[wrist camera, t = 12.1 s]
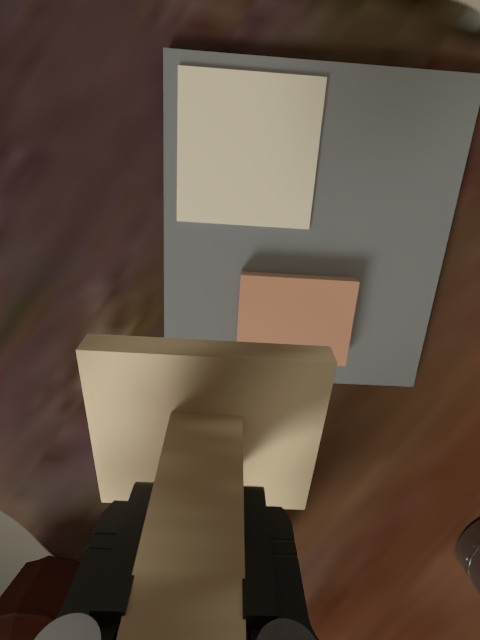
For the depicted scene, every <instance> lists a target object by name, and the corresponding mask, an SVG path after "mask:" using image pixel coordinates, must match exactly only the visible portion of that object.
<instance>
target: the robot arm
mask: <svg viewBox="0 0 480 640" xmlns="http://www.w3.org/2000/svg"><path fill="white" fill-rule="evenodd" d="M153 484H154V482H135V484H134V486H133V488H132V491H131V494H130V497H129V500H128V501H117V500H114V501H113V502H112V503H111V504H110V506H109V507H108V508H107V509H106V510H105V511H104V512H103V513H102V514H101V515H100V518H99V520H98V522H97V525H96V527H95V529H94V532H93V536H92V537H91V539H90V541H89V544H88V546H87V550H86V551H85V553H84V555H83V558H82V560H81V562H80V565H79V567H78V569H77V572H76V574H75V576H74V579H73V581H72V583H71V586H70V588H69V591H68V593H67V595H66V598H65V600H64V602H63V605H62V607H61V609H60V611H59V613H58V615H57V617H56V618H55V620H54V621H52V622H51V623H49V624H48V625H47V626H46V627H45V628H44V629H43V630H42V631H41V632H40V633H39V634H38V635H37V636H36V638H35V639H34V640H116V639H117V634H118V630H119V626H120V622H121V618H122V616H125V615H126V610H127V606H128V602H129V597H130V593H131V589H132V584H133V580H134V576H135V575H132V572H133V568H134V563H135V559H136V555H137V551H138V547H139V543H140V538H141V534H142V530H143V526H144V522H145V518H146V513H147V509H148V505H149V501H150V497H151V493H152V488H153ZM244 545H245V578H242V608H243V619H244V620H246V640H319V639H318V638H317V636H316V635H315V633H314V631H313V629H312V627H311V624H310V621H309V617H308V612H307V607H306V601H305V596H304V590H303V584H302V579H301V573H300V568H299V562H298V558H297V551H296V545H295V542H294V534H293V529H292V523H291V521H290V519H289V518H288V516H287V514H286V513H285V511H284V510H283V508H282V507H276V506H266V500H265V491H264V487H259V486H244ZM456 551H457V558H458V560H459V562H460V564H461V565H462V567H463V569H464V570H465V572H466V573H467V575H468V577H469V578H470V580H471V581H472V583H473V584H474V586H475V588H476V589H477V591H478V592H479V594H480V519H479V520H478V521H476V522H475V523H473V524H472V525H471V526H470V527H469V528H468V529H466V530H465V532H464V533H463V534H462V536H461V537H460V540H459V542H458V544H457V550H456Z"/></svg>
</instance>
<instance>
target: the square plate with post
mask: <svg viewBox="0 0 480 640" xmlns="http://www.w3.org/2000/svg"><path fill="white" fill-rule="evenodd" d="M76 355H77V361H78V367H79V373H80V379H81V385H82V391H83V397H84V402H85V408H86V414H87V420H88V426H89V432H90V438H91V444H92V450H93V456H94V462H95V468H96V474H97V480H98V485H99V491H100V497H101V502H104V503H112V502H113V501H114V500H117V501H128V500H129V497H130V494H131V491H132V488H133V486H134V484H135V482H154V484H153V488H152V493H151V497H150V501H149V505H148V509H147V513H146V518H145V522H144V526H143V530H142V534H141V538H140V543H139V547H138V551H137V555H136V559H135V563H134V568H133V572H132V575H135V576H134V580H133V584H132V589H131V593H130V597H129V602H128V606H127V610H126V615H125V616H122V618H121V622H120V626H119V630H118V634H117V639H116V640H246V620H244V619H243V608H242V578H245V545H244V486H259V487H264V491H265V500H266V506H276V507H282V508H283V509H296V510H305V507H306V502H307V498H308V493H309V489H310V484H311V480H312V475H313V471H314V466H315V462H316V458H317V453H318V449H319V444H320V440H321V435H322V431H323V426H324V422H325V417H326V413H327V408H328V404H329V399H330V395H331V390H332V386H333V382H334V377H335V373H336V368H337V364H338V363H337V361H336V358H335V356H334V354H333V351H332V349H331V347H330V346H315V345H295V344H276V343H257V342H238V341H219V340H199V339H180V338H161V337H142V336H122V335H103V334H87V335H86V337H85V338H84V339H83V341H82V342H81V343H80V345H79V346H78V348H77V349H76Z"/></svg>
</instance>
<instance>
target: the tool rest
mask: <svg viewBox="0 0 480 640" xmlns="http://www.w3.org/2000/svg"><path fill="white" fill-rule="evenodd" d="M326 82H327V77H321V76H309V75H296V74H283V73H271V72H258V71H246V70H233V69H221V68H208V67H196V66H183V65H178V101H177V221H181V222H197V223H213V224H229V225H245V226H261V227H277V228H293V229H309V226H310V218H311V209H312V201H313V192H314V184H315V176H316V167H317V159H318V150H319V142H320V133H321V125H322V116H323V108H324V99H325V91H326Z"/></svg>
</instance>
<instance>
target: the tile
mask: <svg viewBox="0 0 480 640" xmlns="http://www.w3.org/2000/svg"><path fill="white" fill-rule="evenodd" d="M359 284H360V282H359V281H358V280H356V279H355V278H352V277H335V276H318V275H300V274H283V273H266V272H248V271H240V285H239V301H238V317H237V333H236V341H238V342H257V343H276V344H295V345H315V346H330V347H331V349H332V351H333V354H334V356H335V358H336V361H337V363H338V364H337V366H346V361H347V355H348V349H349V343H350V338H351V332H352V326H353V320H354V314H355V308H356V302H357V296H358V290H359Z"/></svg>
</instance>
